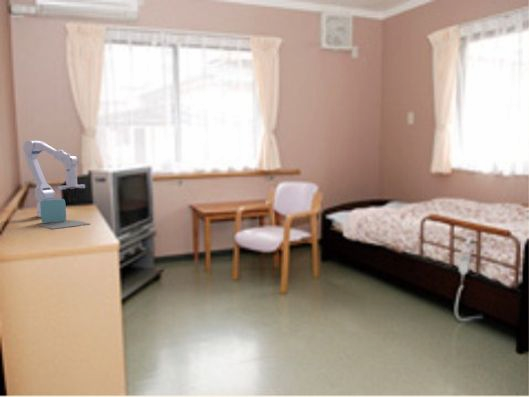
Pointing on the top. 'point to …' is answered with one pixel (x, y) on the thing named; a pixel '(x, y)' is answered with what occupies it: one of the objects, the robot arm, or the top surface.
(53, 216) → the blue square block
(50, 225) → the mat
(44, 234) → the top surface
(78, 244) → the top surface
